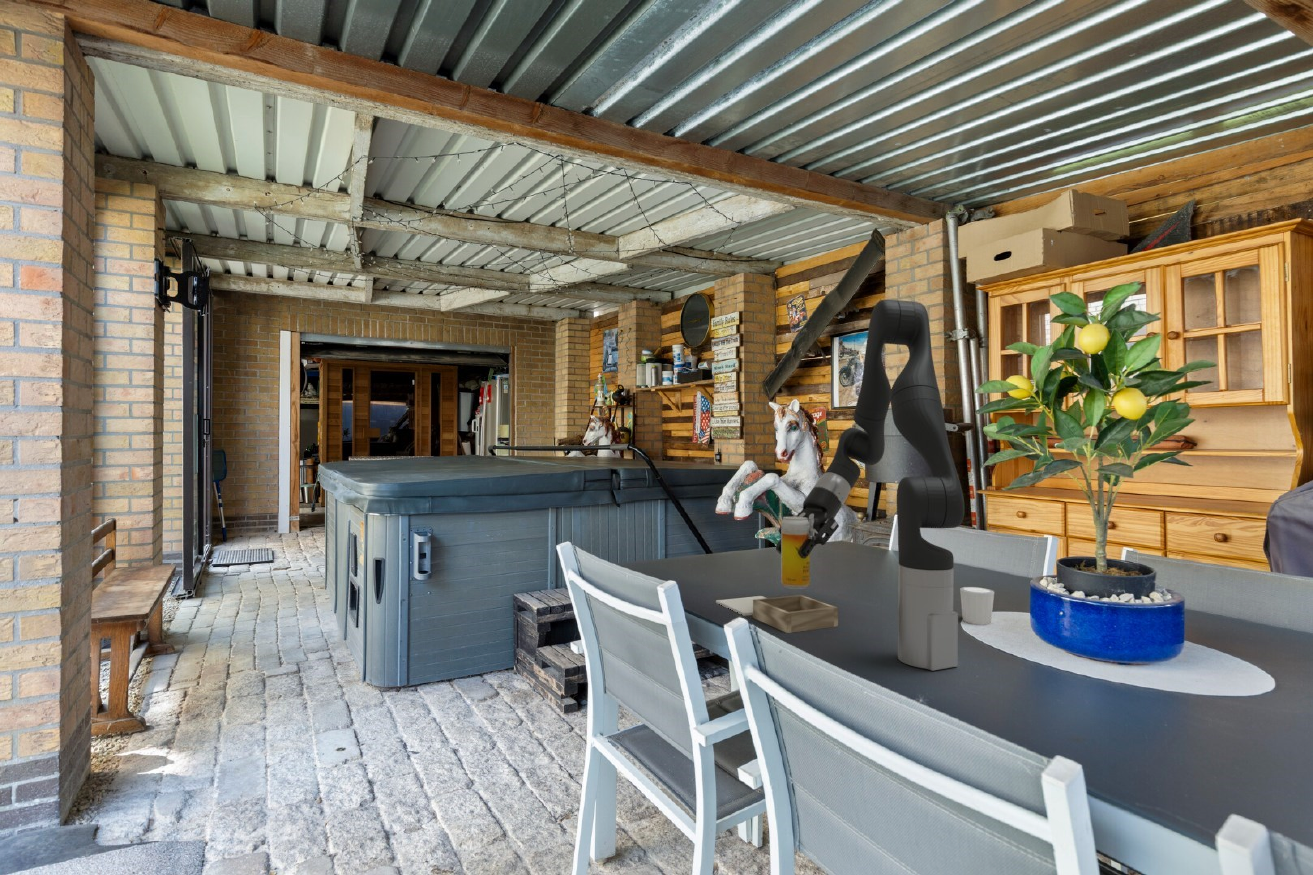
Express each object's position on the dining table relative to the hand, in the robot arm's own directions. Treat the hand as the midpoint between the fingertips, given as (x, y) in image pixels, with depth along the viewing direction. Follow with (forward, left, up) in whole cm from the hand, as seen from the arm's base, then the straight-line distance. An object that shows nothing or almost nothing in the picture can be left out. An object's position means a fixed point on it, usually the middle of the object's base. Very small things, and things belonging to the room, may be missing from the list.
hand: (789, 553), depth 146 cm
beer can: (0, -2, -8) cm, 8 cm away
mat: (+15, -1, -15) cm, 22 cm away
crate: (0, -2, -15) cm, 15 cm away
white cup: (-15, -40, -15) cm, 45 cm away
